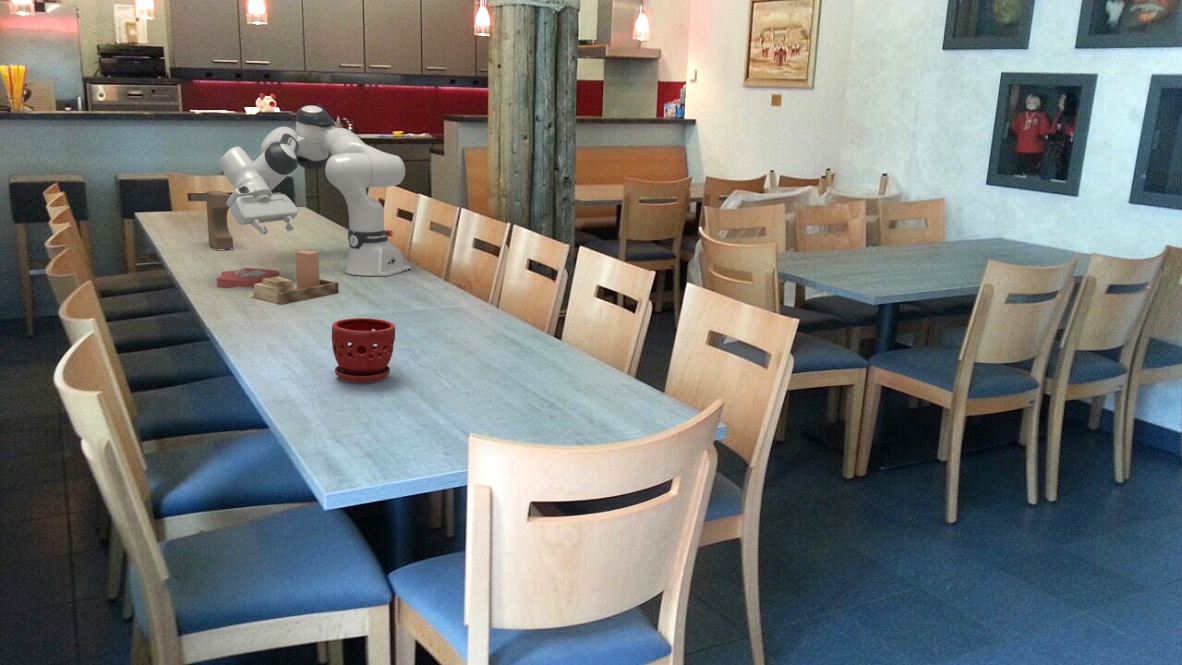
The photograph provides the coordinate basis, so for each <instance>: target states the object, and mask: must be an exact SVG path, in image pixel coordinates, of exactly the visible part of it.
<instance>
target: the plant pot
mask: <svg viewBox="0 0 1182 665" xmlns="http://www.w3.org/2000/svg"><path fill="white" fill-rule="evenodd" d="M395 340H396V326H395V324H394V323H393V322H390V321H387V320H383V319H378V318H367V317H365V318H363V317H361V318H359V317H357V318H345V319H340V320H336V321H335V322H333V323H332V326H331V344H332V351H333V355H334V358H335V361H336V363H337V366H336V367H335V369H334V372H335V375H336V376H337V377H338V378H339V379H341V380H342V381H345V382H348V383H350V382H352V383H356V384H358V383H359V384H365V383H375V382H378V381H381V380H384V379H385V378H386V377H388V375H389V374H390V372H391V368H390V367H389V366H388V365H389V364H390V361H391V360H392V359H391V358H392V356H393V353H394V344H395ZM349 344H350V345H349Z"/></svg>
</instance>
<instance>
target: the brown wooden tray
mask: <svg viewBox="0 0 1182 665" xmlns="http://www.w3.org/2000/svg"><path fill="white" fill-rule="evenodd" d="M319 282H320V285H318V286H313V287H308V288H302V289H297V287H296V288H294V290H292V291H287V292H281V293H277V299H278V303H275V302H270V301H266V300H262V299H258V298H254V297H253V296H250V297H249V298H250V299H256V300H260V301H263V302H267V303H272V304H276V305H286V304H291V303H297V302H301V301H305V300H310V299H315V298H320V297H326V296H331V295H336V294H339V291H340V290H339V287H340V286H339V282H338V281H337V282H336V281H332V280H326V279H322V278H319Z"/></svg>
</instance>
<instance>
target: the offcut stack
mask: <svg viewBox="0 0 1182 665" xmlns="http://www.w3.org/2000/svg"><path fill="white" fill-rule="evenodd" d="M253 288H254V289H253V292H252V293H253V294H252V295H253V296H252V297H254V298H258V299H257V300H259V299H262V300H261V301H263V300H266V301H265V302H267V301H270V302H269V303H271V302H275V303H278V299H277V293H281V292H287V291H292V290H294V289H295V284H293V280H291V279H288V278H284V277H281V276H279V277H271V278H263V282H262V283H257V284H254V286H253ZM254 298H253V299H254ZM275 303H274V304H275Z"/></svg>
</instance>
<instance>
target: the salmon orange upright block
mask: <svg viewBox="0 0 1182 665" xmlns="http://www.w3.org/2000/svg"><path fill="white" fill-rule="evenodd" d="M319 253H320V252H318V251H312V250H308V249H307V250H300V251H296V252H295V264H296V265H295V266H296V288H297V289H302V288H308V287H313V286H318V285H320V282H319V279H320V257H319V256H320V254H319Z"/></svg>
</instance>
